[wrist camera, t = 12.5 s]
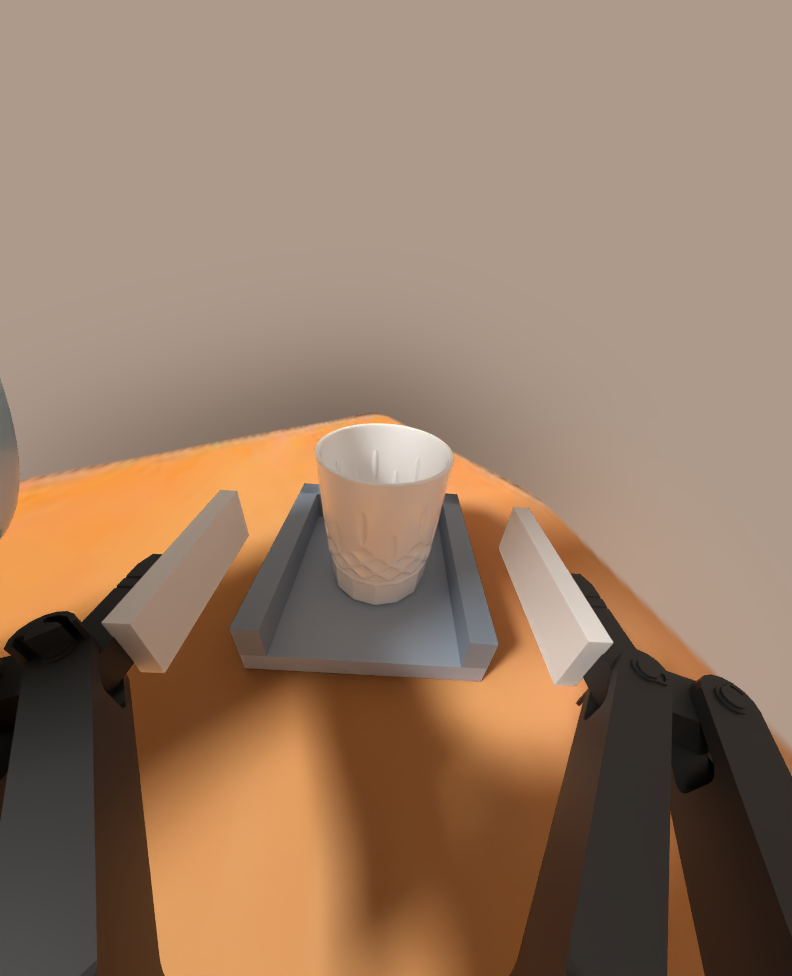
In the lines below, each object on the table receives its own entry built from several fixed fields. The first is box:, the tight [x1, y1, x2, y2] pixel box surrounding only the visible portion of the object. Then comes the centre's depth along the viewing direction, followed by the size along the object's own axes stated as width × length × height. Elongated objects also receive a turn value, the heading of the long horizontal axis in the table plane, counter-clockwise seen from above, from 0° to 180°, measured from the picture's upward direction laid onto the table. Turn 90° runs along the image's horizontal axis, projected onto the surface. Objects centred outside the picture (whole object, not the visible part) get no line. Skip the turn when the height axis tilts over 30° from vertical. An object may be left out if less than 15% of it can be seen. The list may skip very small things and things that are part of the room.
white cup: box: [315, 423, 454, 605], centre depth 20 cm, size 8×8×10 cm
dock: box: [229, 483, 499, 681], centre depth 22 cm, size 14×14×4 cm
